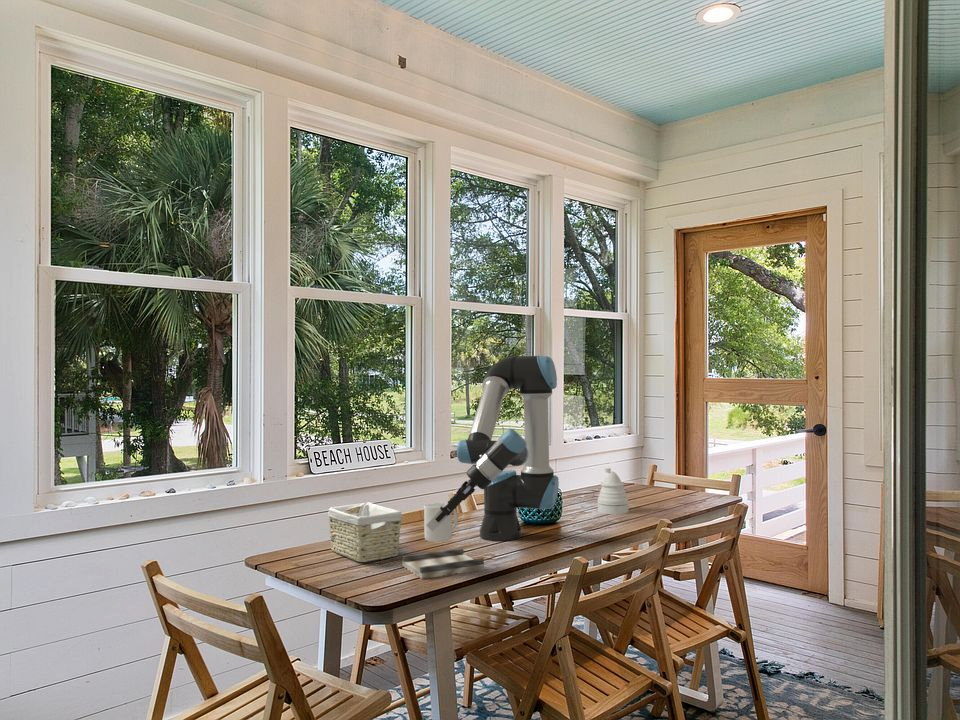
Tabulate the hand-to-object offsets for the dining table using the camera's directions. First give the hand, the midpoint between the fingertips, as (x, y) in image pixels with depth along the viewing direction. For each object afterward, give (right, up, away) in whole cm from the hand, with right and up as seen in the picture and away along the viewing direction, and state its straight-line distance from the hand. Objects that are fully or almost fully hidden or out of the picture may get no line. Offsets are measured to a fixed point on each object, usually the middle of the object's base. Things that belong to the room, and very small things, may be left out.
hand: (432, 524), depth 210 cm
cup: (+3, -4, 0) cm, 5 cm away
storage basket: (-23, -14, +17) cm, 32 cm away
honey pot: (+71, -15, +85) cm, 112 cm away
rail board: (+3, -13, -1) cm, 13 cm away
